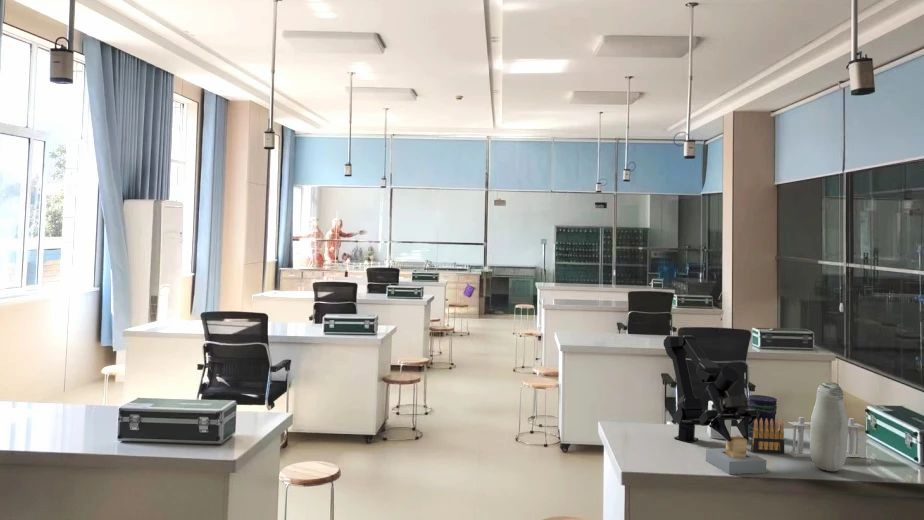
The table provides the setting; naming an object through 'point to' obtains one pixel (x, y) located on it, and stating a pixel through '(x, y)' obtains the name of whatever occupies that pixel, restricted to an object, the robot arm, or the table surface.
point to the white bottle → (829, 428)
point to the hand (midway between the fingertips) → (738, 440)
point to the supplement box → (714, 433)
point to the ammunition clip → (768, 437)
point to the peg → (736, 447)
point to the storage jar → (762, 410)
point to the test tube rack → (801, 434)
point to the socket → (736, 462)
